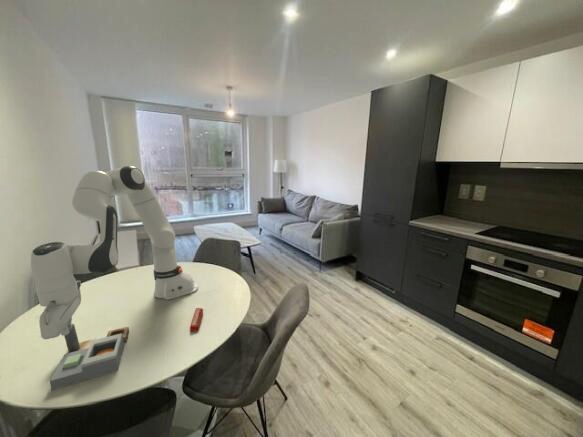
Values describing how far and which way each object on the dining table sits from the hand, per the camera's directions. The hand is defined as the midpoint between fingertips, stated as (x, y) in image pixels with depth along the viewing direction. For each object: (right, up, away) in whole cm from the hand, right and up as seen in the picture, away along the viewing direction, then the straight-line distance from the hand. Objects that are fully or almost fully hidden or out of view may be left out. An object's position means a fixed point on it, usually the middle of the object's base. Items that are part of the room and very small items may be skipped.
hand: (66, 332), depth 77 cm
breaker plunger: (+7, -13, +7) cm, 17 cm away
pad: (-6, -13, +12) cm, 19 cm away
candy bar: (+31, -10, +30) cm, 44 cm away
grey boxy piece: (+3, -14, +5) cm, 16 cm away
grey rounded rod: (-8, -12, +11) cm, 18 cm away
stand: (+3, -12, +18) cm, 22 cm away
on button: (0, -13, +3) cm, 13 cm away
